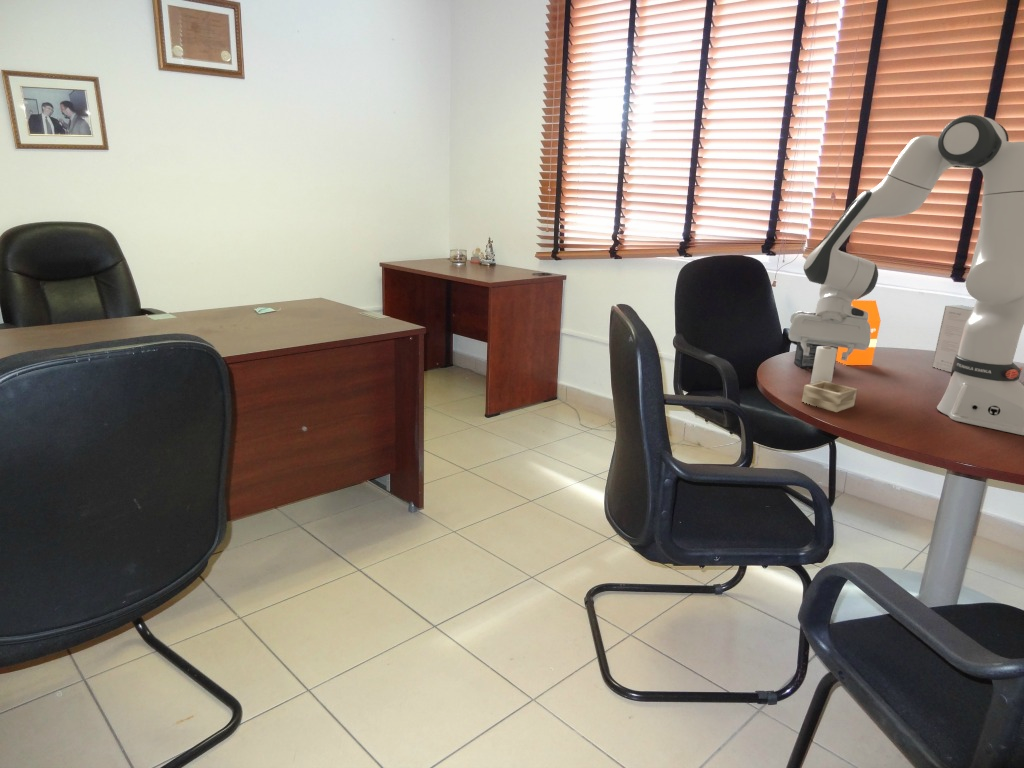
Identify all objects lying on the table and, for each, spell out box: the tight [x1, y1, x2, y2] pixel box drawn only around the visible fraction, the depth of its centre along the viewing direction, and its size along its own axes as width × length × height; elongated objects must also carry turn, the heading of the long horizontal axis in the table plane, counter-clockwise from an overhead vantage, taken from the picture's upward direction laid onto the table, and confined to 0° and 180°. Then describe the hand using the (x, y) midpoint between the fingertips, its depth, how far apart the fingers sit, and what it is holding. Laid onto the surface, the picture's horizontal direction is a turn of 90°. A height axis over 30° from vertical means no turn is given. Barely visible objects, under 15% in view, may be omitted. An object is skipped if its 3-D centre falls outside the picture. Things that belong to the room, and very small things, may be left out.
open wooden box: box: [801, 380, 858, 413], centre depth 166 cm, size 9×9×4 cm
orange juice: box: [836, 299, 881, 366], centre depth 207 cm, size 8×9×20 cm
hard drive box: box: [931, 304, 974, 373], centre depth 200 cm, size 16×8×20 cm, turn 22°
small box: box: [793, 341, 838, 370], centre depth 202 cm, size 11×6×10 cm, turn 84°
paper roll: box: [809, 346, 837, 384], centre depth 176 cm, size 5×5×12 cm
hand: (824, 356), depth 177 cm, fingers open, 8 cm apart
